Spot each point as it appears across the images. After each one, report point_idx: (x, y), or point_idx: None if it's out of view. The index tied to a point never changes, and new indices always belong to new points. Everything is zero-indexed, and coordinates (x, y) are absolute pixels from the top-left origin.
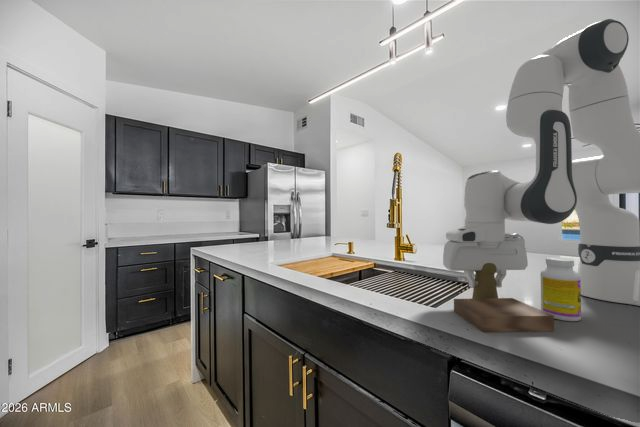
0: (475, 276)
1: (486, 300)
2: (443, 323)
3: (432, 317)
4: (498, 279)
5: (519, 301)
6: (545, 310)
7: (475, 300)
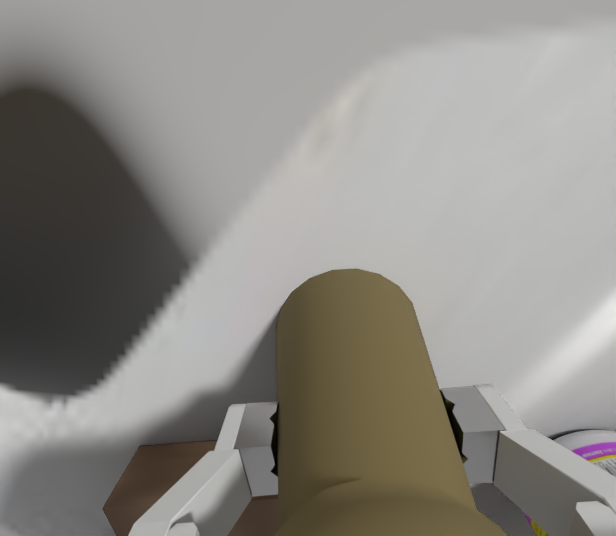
0: (280, 484)
1: (268, 523)
2: (83, 531)
3: (46, 495)
4: (504, 480)
5: None
6: None
7: None
